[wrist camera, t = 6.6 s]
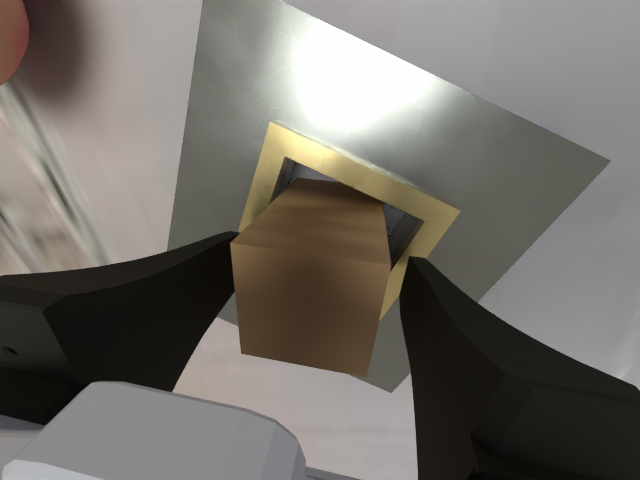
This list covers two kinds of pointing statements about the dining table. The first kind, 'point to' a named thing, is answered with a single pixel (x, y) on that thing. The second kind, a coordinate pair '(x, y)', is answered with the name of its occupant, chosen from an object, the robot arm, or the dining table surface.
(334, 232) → the brown rectangular block
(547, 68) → the dining table surface
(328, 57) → the grey socket base
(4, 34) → the decorative fruit
